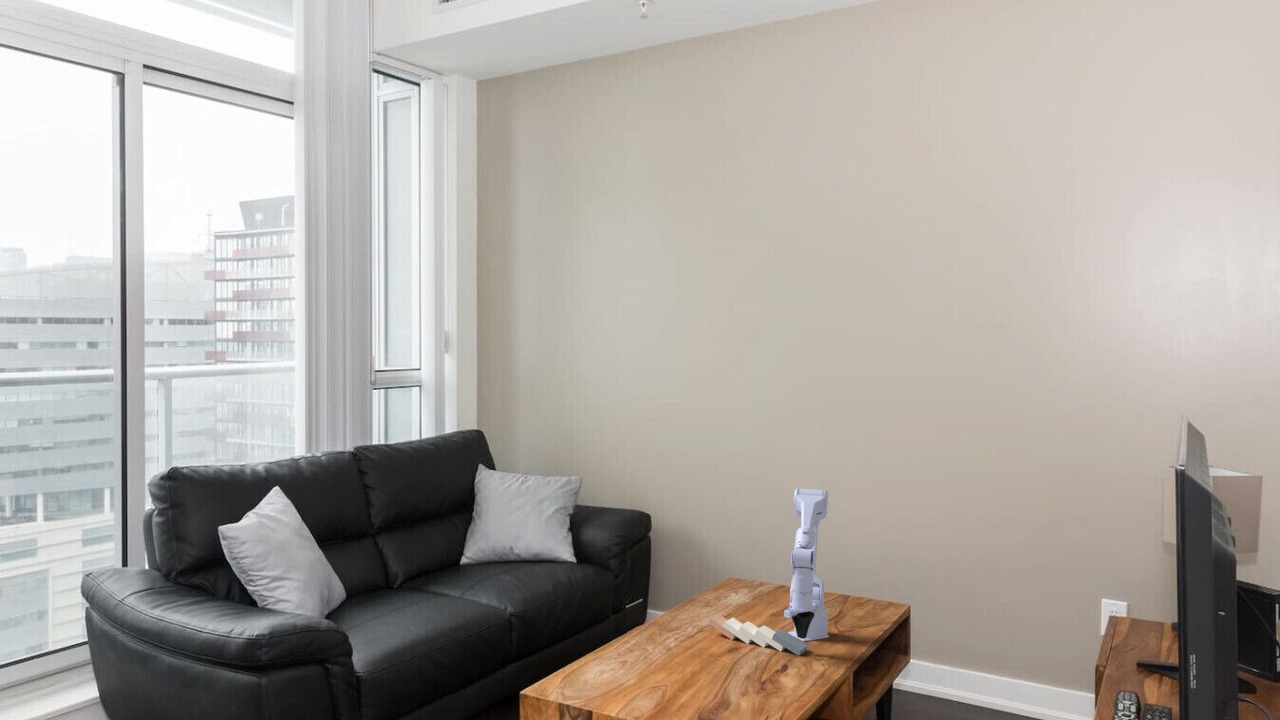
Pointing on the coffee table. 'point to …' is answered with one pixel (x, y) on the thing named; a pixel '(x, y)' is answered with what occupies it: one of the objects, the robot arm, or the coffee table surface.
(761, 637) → the domino
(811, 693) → the coffee table surface
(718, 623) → the domino
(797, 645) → the domino
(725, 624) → the domino
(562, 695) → the coffee table surface
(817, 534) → the robot arm
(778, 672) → the coffee table surface
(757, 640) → the domino
